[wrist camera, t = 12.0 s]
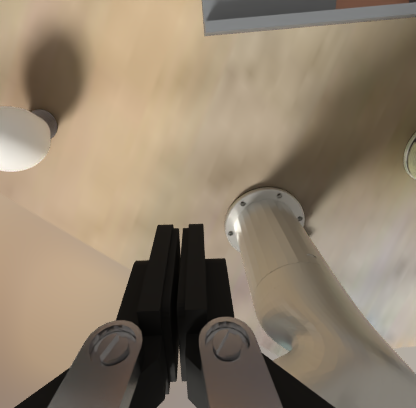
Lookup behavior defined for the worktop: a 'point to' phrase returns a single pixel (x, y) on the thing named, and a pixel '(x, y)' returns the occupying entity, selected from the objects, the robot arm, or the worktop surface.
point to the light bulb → (24, 137)
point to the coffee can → (410, 157)
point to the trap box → (296, 13)
